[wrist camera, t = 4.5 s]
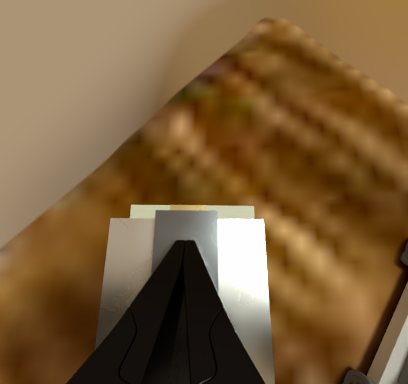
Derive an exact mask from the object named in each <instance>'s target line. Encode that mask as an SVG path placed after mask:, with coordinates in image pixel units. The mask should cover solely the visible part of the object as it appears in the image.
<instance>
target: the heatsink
mask: <svg viewBox="0 0 408 384" xmlns="http://www.w3.org/2000/svg"><path fill="white" fill-rule="evenodd" d="M170 210H206V205H170ZM154 226H155V218H111V220H110V228H109V237H108V245H107V253H106V261H105V269H104V277H103V285H102V293H101V301H100V309H99V317H98V325H97V333H96V341H95V349H96V348H97V347H98V346H99V345H100V343H101V342H102V341H103V340H104V339H105V337H106V336H107V335H108V334H109V333H110V331H111V330H112V329H113V327H114V326H115V325H116V323H117V322H118V321H119V319H120V318H121V317H122V315H123V314H124V312H125V311H126V310H127V308H128V307H130V304H131V303H132V301H133V300H134V299H135V297H136V296H137V294H138V293H139V292H140V290H141V289H142V287H143V286H144V284H145V283H146V282H147V280H148V279H149V277H150V276H151V269H152V255H153V240H154ZM218 288H219V296H220V298H221V301H222V303H223V305H224V308H225V310H226V312H227V314H228V316H229V318H230V321H231V323H232V325H233V327H234V329H235V331H236V333H237V335H238V337H239V338H240V340H241V342H242V344H243V346H244V348H245V349H246V351H247V353H248V354H249V356H250V358H251V360H252V361H253V363H254V365H255V366H256V368H257V370H258V372H259V373H260V375H261V377H262V378H263V380H264V382H265V384H275V378H274V364H273V350H272V336H271V321H270V307H269V293H268V279H267V264H266V250H265V236H264V222H263V219H218ZM95 349H94V351H95Z"/></svg>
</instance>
